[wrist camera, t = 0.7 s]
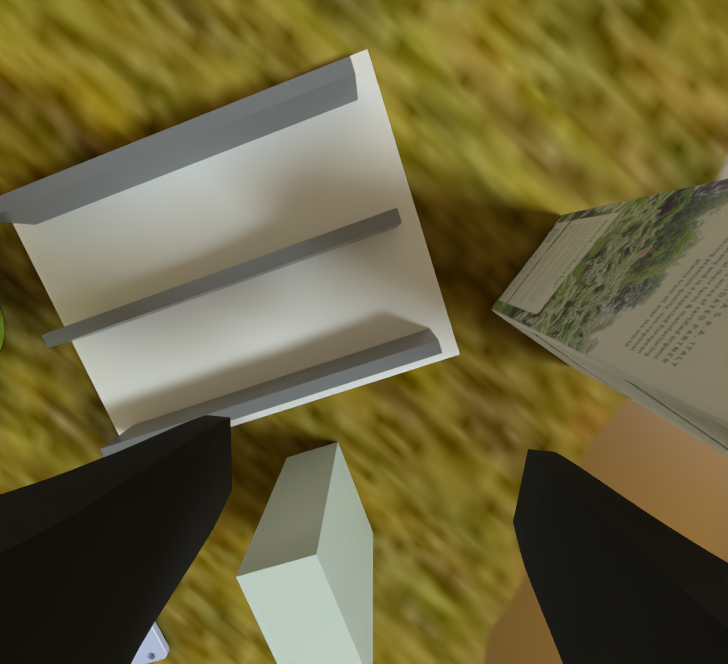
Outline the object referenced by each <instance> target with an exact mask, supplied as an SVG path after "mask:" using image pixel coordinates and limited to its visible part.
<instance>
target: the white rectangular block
mask: <svg viewBox="0 0 728 664" xmlns="http://www.w3.org/2000/svg"><path fill="white" fill-rule="evenodd" d="M236 578H237V580H238V582H239V584H240V586H241V588H242V591H243V593H244V595H245V597H246V599H247V601H248V603H249V605H250V607H251V610H252V612H253V614H254V616H255V618H256V620H257V622H258V624H259V626H260V629H261V631H262V633H263V635H264V637H265V639H266V641H267V643H268V645H269V648H270V650H271V652H272V654H273V656H274V658H275V660H276V662H277V664H373V532H372V529H371V527H370V524H369V522H368V519H367V516H366V514H365V511H364V509H363V506H362V503H361V501H360V498H359V496H358V493H357V490H356V488H355V485H354V483H353V480H352V477H351V475H350V472H349V470H348V467H347V464H346V462H345V459H344V457H343V454H342V451H341V449H340V446H339V443H338V442H336V443H333V444H329V445H326V446H323V447H320V448H316V449H313V450H310V451H306V452H303V453H300V454H297V455H293V456H290V457H287V459H286V461H285V463H284V466H283V468H282V470H281V473H280V475H279V477H278V480H277V482H276V484H275V487H274V489H273V491H272V494H271V496H270V498H269V501H268V503H267V505H266V508H265V510H264V512H263V515H262V517H261V519H260V522H259V524H258V527H257V529H256V531H255V534H254V536H253V538H252V541H251V543H250V545H249V548H248V550H247V552H246V555H245V557H244V559H243V562H242V564H241V566H240V569H239V571H238V573H237V576H236Z"/></svg>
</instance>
